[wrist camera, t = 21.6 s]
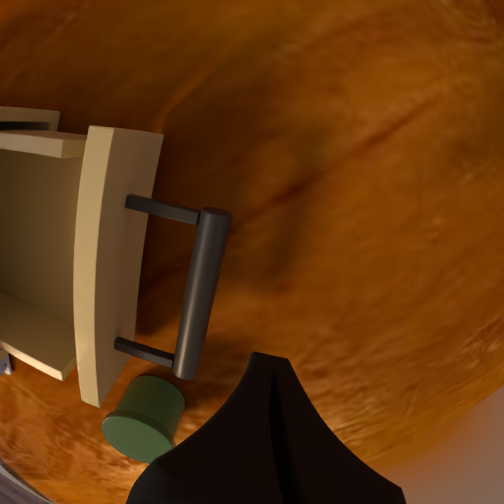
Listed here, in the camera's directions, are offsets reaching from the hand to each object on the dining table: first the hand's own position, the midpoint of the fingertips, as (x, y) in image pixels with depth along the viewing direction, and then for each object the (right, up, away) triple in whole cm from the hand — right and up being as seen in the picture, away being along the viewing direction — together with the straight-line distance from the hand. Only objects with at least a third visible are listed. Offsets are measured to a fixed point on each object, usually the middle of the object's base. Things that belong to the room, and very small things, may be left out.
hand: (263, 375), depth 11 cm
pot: (-8, -7, +12) cm, 16 cm away
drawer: (-11, +5, +7) cm, 14 cm away
